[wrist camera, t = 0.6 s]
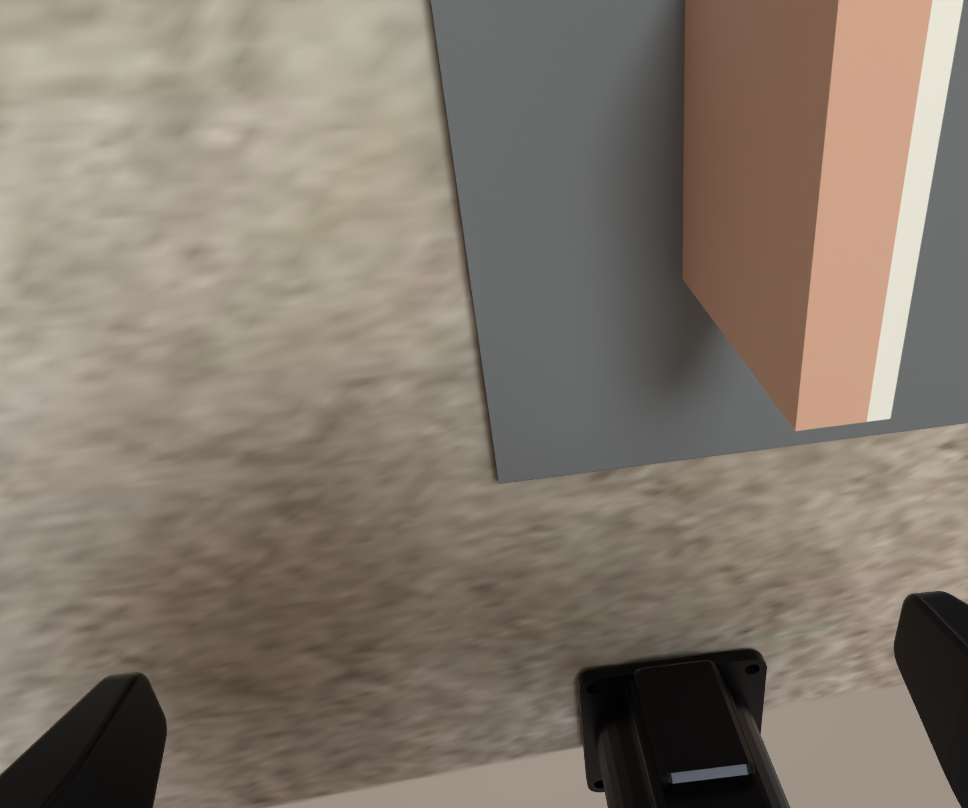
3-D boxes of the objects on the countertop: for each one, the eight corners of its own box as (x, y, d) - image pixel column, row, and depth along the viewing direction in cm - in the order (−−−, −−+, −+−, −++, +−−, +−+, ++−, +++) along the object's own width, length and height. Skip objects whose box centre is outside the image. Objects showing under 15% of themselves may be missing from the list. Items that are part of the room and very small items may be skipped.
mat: (1119, 390, 22) (1135, 401, 21) (497, 471, 22) (499, 483, 22) (1440, -535, 13) (1482, -555, 12) (379, -372, 13) (375, -385, 13)
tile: (747, 270, 19) (890, 418, 13) (682, 279, 19) (795, 431, 13) (765, -59, 15) (974, -66, 9) (685, -48, 15) (843, -47, 9)
